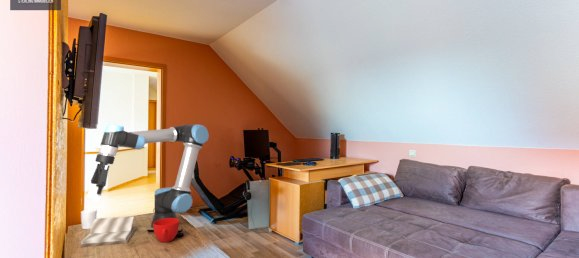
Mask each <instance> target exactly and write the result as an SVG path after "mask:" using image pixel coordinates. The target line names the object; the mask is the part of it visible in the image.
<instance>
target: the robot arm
mask: <svg viewBox="0 0 579 258" xmlns="http://www.w3.org/2000/svg"><path fill="white" fill-rule="evenodd" d="M209 136H210V135H209V131H208V128H207V127H206V126H205V125H203V124H182V125H177V126H170V127H169V128H164V129H163V128H162V129H151V130H140V131H129V132H128V131H126V130H125V127H124V126H123V125H121V124H116V123H111V122H110V123H107V125H106V127H105V129H104V131H103V134H102V139H101V142H100V145H99V146H98V147H97V149H98V151H97V152H98V154H96V158H95V162H96V163H97V165H96V168H95V171H94V172H93V175H92V177H91V179H90V186H89V189H88V192H87V194H86V197H87V198H92V200H91V201H92V202H100V200H101V197H102V194H103V190H104V188H105V187H106V185H107V179H108V174H109V169H110V165H114V162H115V156H116V155H117V151H118V149H119V148H130V149H134V150H142V149H143V148H144V147H145V145H146V144H153V143H154V144H155V143H161V142H162V143H163V142H171V143H174V142H175V143H176V142H180V143H183V146H184V148H183V153H182V157H181V160H180V164H179V168H178V171H177V176H176V179H175V182H174V185H173V186H172V187H171V186H169V187H161V188H157V189H155V191H154V213H153V217H152V219H151V223H150V227H151V228H152V229H154V228H153V223H154V222H155V221H157V220H159V219H164V218H176V219H178V218H177V215H176V214H184V213H186V212H188V211H189V210H190V209H191V207H192V205H193V202H194V201H193V200H194V199H193V198H192V197H193V196H192V195H191V194H192V190H191V188H190V187H191V183H192V179H193V175H194V171H195V169H196V167H195V166H196V163H197V159H198V155H199V151H200V150H201V149H203V146H204V144H205V143H206V142H208V140H209Z"/></svg>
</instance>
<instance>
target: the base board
mask: <svg viewBox="0 0 579 258" xmlns="http://www.w3.org/2000/svg"><path fill="white" fill-rule="evenodd" d="M136 231H137V227H136V226H135V227H133V226H132V229H131V233H130V231H125V232H111V233H98V234H89V233H88V235H86V236H85V237H84V238H83V239H82V240H81V241H80V243H79V244H78V245H77V246H78V247H77V248H87V247H97V246H98V247H99V246H109V245H111V246H112V245H121V244H128V242H129V241H130V240H131V238H132V237H133V235H134V234H135V232H136Z"/></svg>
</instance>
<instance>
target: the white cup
mask: <svg viewBox="0 0 579 258" xmlns="http://www.w3.org/2000/svg"><path fill="white" fill-rule="evenodd" d="M97 213H98V211H97V209H96V208H90V209H84V210H82V211H80V221H81V222H80V223H81V229H82V230H91V228H92V225H93V222H94V220H95V219H97Z"/></svg>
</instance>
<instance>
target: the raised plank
mask: <svg viewBox="0 0 579 258" xmlns="http://www.w3.org/2000/svg"><path fill="white" fill-rule="evenodd" d="M134 220H135V216H119V217H105V218H104V217H103V218H102V217H101V218H96V219H95V220H94V222H93V225H92V228H91V229H89V230H90V231H89V233H88V235H89V234H98V233H111V232H125V231H130V233H131V229H132V227H133V224H134Z"/></svg>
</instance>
